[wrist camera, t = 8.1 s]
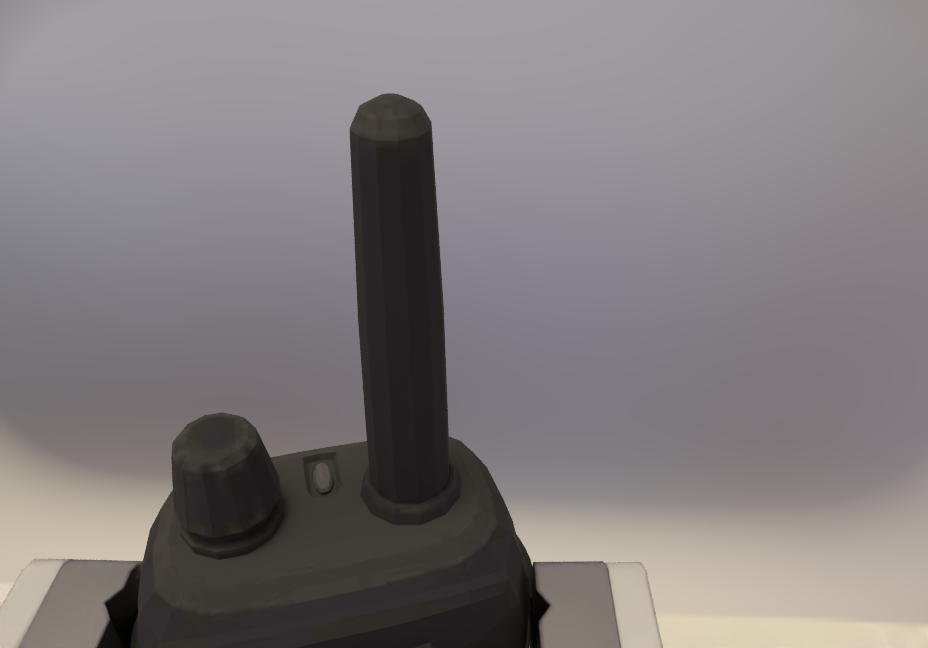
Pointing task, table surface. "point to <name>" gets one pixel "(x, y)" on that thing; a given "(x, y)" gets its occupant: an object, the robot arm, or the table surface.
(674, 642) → the table surface
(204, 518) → the two-way radio
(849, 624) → the table surface
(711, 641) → the table surface
